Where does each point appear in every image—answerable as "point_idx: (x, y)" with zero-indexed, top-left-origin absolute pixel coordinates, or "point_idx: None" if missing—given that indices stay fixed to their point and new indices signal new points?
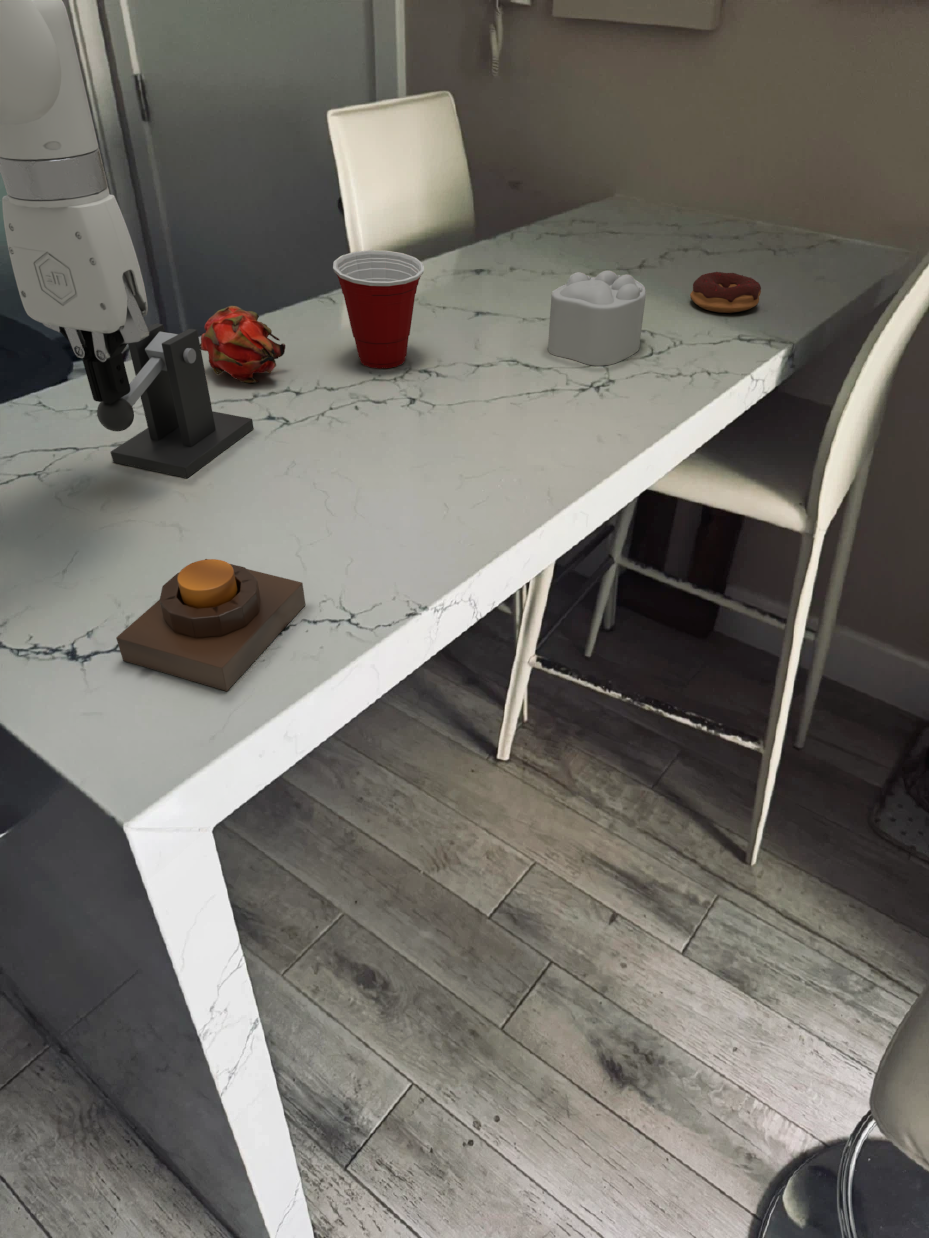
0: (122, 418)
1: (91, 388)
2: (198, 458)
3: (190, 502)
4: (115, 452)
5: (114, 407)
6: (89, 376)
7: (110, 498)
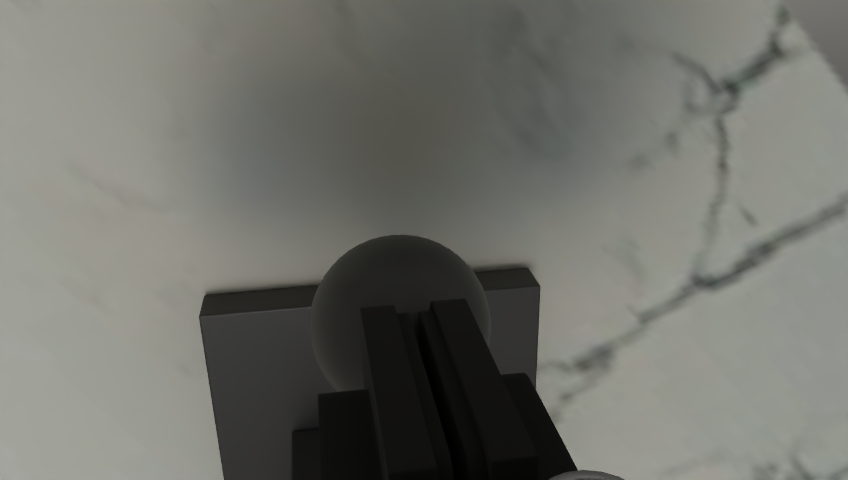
0: (319, 298)
1: (470, 332)
2: (210, 387)
3: (56, 168)
4: (518, 289)
5: (356, 320)
6: (480, 381)
7: (357, 63)
